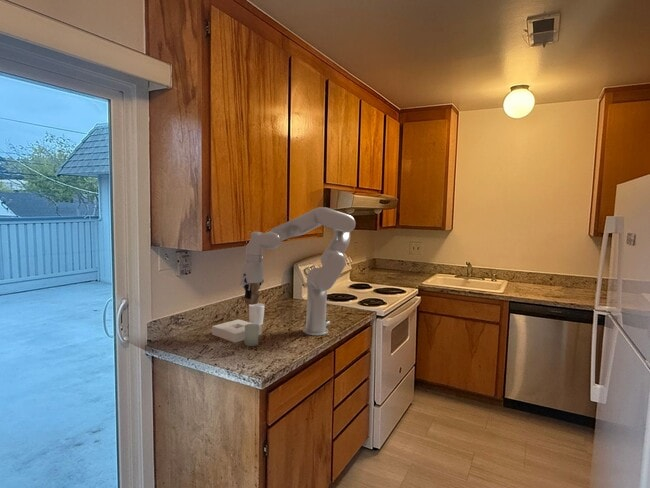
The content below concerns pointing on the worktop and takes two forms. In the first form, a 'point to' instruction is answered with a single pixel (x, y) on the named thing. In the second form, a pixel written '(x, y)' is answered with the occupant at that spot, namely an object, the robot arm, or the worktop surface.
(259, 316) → the white cup
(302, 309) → the worktop surface
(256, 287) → the walnut square peg
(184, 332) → the worktop surface
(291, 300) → the worktop surface
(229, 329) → the cream socket block
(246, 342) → the sage round peg
